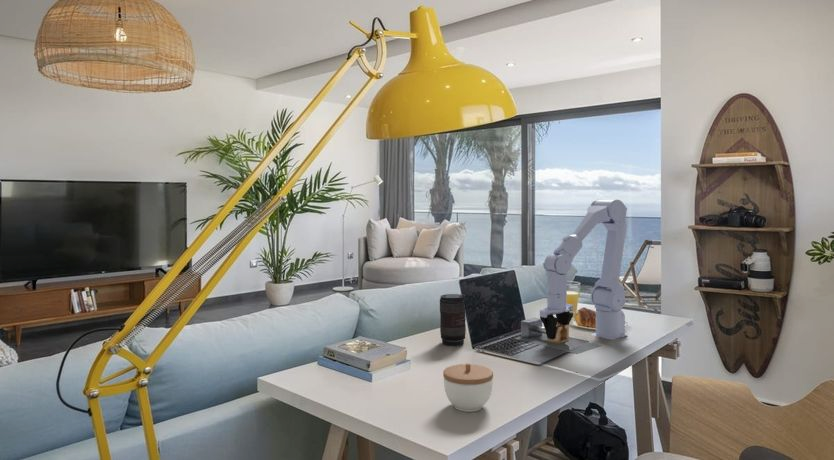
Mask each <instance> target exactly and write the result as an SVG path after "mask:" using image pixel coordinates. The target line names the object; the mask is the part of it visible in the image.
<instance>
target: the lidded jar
mask: <svg viewBox="0 0 834 460" xmlns="http://www.w3.org/2000/svg"><path fill="white" fill-rule="evenodd" d="M493 379H494V371H493V370H492V369H491V368H489V367H487V366H484V365H479V364H473V363H469V362H468V363H467V362H466V363H464V364H463V363H462V364H460V363H459V364H454V365H451V366H448V367H446V368H444V370H443V384H444V385H443V387H444V392H445V395H446V397H447V399H448V401H449V402H450V403H451V404H452V405H453V406H454V408H455V409H456V410H458V411H460V412H464V413H465V412H466V413H473V412H478V411H480V410H482V409H483V407H484V406H485V405H486V404H487V402H488V401H489V400H490V398H491V395H492V392H493V391H492V390H493V382H494V381H493Z"/></svg>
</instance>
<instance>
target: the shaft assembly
mask: <svg viewBox="0 0 834 460" xmlns="http://www.w3.org/2000/svg"><path fill="white" fill-rule="evenodd" d="M542 333H543V334H546V330H545V327H544V326H543V322H542V321H541V319H540V317H531V318H527V319H523V320H521V321H520V337H523V338H527V339H530V338H533V337H537V336H541V335H542Z"/></svg>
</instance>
